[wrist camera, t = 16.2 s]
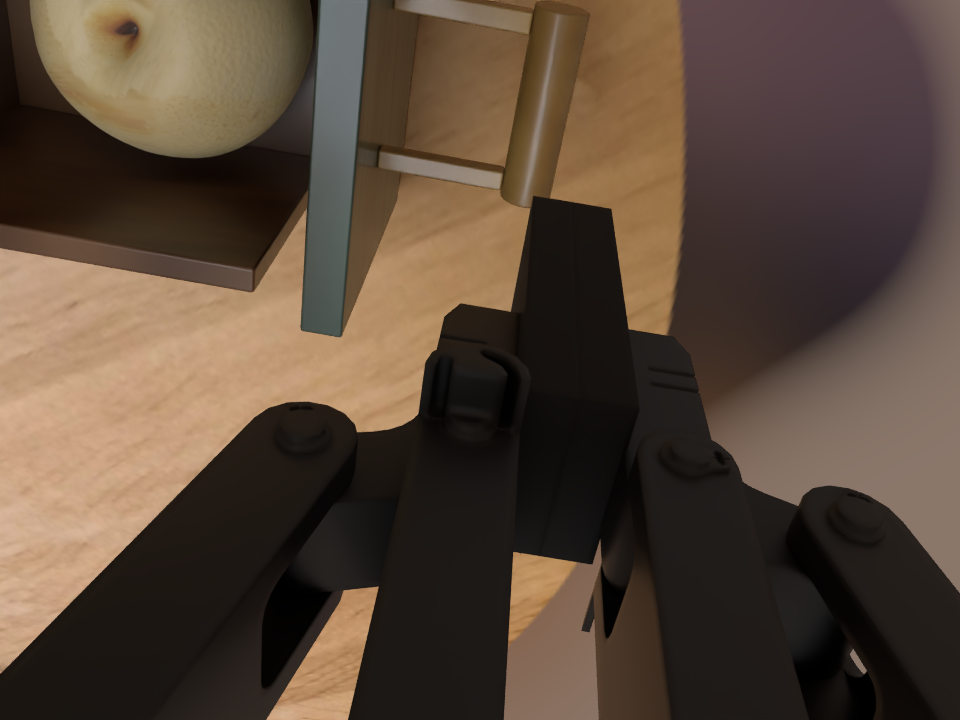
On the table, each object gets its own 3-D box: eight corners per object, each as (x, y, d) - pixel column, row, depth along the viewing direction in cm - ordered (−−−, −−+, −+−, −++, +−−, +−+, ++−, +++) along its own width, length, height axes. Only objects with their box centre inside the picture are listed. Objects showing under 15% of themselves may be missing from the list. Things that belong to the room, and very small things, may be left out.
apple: (311, 168, 31) (129, 243, 26) (171, 10, 32) (-35, 51, 26) (400, -7, 25) (188, 44, 20) (227, -196, 26) (-23, -195, 21)
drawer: (608, -148, 26) (636, -130, 18) (530, 224, 33) (523, 370, 24) (-34, -271, 26) (-333, -316, 17) (20, 133, 33) (-175, 248, 24)
